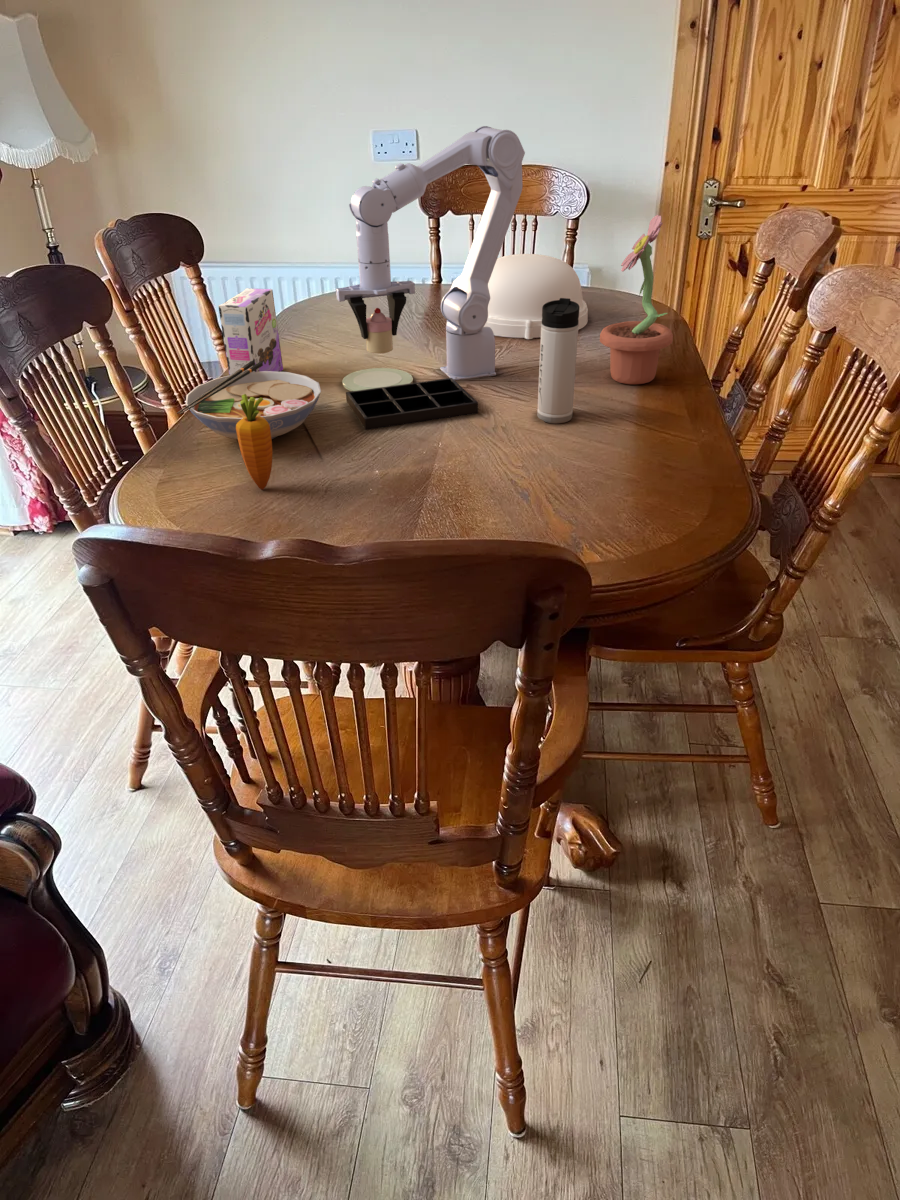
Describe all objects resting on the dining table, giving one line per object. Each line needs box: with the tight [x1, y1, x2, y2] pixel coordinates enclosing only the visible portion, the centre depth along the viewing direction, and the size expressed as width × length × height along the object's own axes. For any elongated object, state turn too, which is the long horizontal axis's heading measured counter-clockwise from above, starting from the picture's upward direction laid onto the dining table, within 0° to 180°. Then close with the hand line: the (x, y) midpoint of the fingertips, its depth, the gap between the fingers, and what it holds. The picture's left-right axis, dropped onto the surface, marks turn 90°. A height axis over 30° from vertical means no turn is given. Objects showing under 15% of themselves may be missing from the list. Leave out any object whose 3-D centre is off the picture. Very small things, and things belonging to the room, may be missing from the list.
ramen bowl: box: [176, 361, 322, 440], centre depth 144 cm, size 25×23×8 cm
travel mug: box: [536, 298, 579, 425], centre depth 145 cm, size 6×7×20 cm
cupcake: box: [365, 307, 394, 355], centre depth 159 cm, size 5×5×8 cm
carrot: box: [236, 394, 274, 491], centre depth 124 cm, size 5×5×15 cm
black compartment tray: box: [345, 377, 479, 431], centre depth 154 cm, size 14×21×2 cm
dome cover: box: [484, 253, 589, 340], centre depth 198 cm, size 32×30×14 cm
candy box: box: [217, 288, 284, 376], centre depth 165 cm, size 14×6×16 cm, turn 168°
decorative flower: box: [599, 214, 674, 385], centre depth 159 cm, size 15×14×30 cm
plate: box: [341, 367, 414, 392], centre depth 167 cm, size 14×14×1 cm
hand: (378, 335), depth 160 cm, fingers closed on cupcake, 5 cm apart
